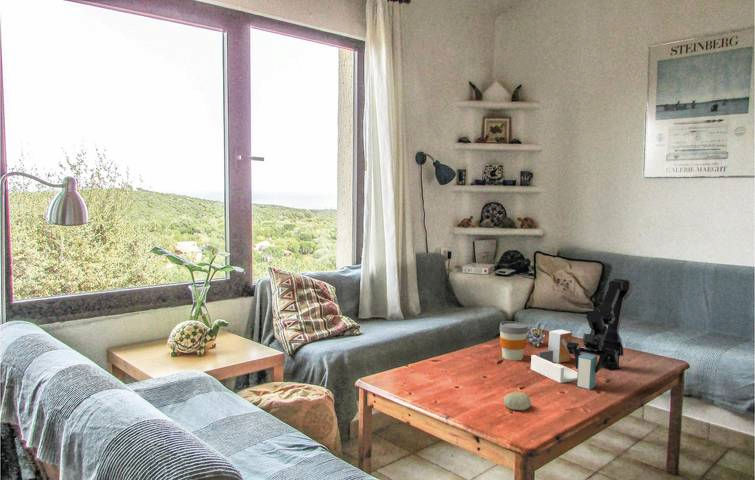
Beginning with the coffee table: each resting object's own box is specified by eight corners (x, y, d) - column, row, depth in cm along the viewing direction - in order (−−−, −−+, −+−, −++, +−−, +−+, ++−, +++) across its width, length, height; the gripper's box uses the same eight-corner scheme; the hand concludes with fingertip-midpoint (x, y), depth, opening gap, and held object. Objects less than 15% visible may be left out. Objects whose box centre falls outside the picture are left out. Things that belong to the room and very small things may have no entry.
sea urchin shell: (497, 396, 204) (514, 381, 204) (512, 411, 205) (528, 396, 205) (505, 406, 195) (522, 390, 195) (521, 422, 196) (537, 406, 196)
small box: (558, 363, 249) (560, 334, 248) (547, 359, 255) (548, 331, 253) (570, 360, 254) (572, 332, 252) (559, 356, 259) (560, 328, 258)
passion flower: (536, 357, 276) (532, 341, 269) (518, 348, 284) (513, 332, 277) (550, 341, 280) (546, 325, 274) (532, 333, 288) (527, 317, 281)
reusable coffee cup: (530, 356, 259) (532, 323, 258) (521, 363, 249) (523, 329, 247) (503, 351, 266) (505, 319, 264) (494, 358, 255) (495, 325, 254)
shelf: (556, 365, 247) (557, 347, 246) (587, 378, 230) (588, 359, 230) (530, 369, 241) (531, 350, 240) (560, 382, 225) (561, 363, 224)
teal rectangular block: (582, 382, 225) (583, 353, 224) (595, 385, 222) (596, 355, 221) (576, 386, 221) (578, 356, 220) (589, 389, 218) (591, 359, 216)
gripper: (569, 321, 228) (557, 354, 221) (617, 329, 216) (606, 364, 209) (575, 336, 235) (563, 369, 228) (622, 345, 223) (612, 380, 216)
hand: (585, 370), depth 220 cm, fingers open, 7 cm apart
